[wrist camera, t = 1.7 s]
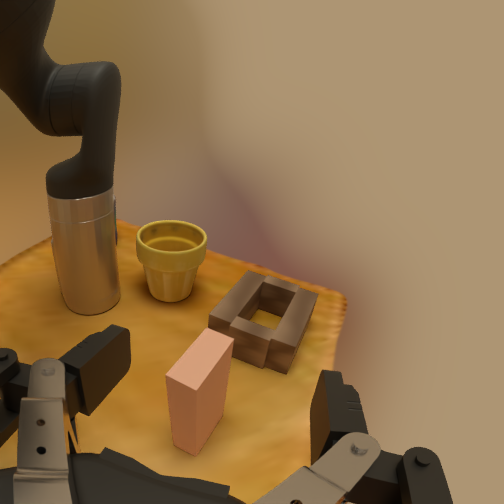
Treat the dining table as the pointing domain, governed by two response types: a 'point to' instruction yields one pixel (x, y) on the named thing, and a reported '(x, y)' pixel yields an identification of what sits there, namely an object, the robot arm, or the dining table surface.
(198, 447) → the tall pink pillar
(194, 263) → the plant pot
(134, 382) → the dining table surface
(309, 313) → the walnut frame
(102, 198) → the robot arm
